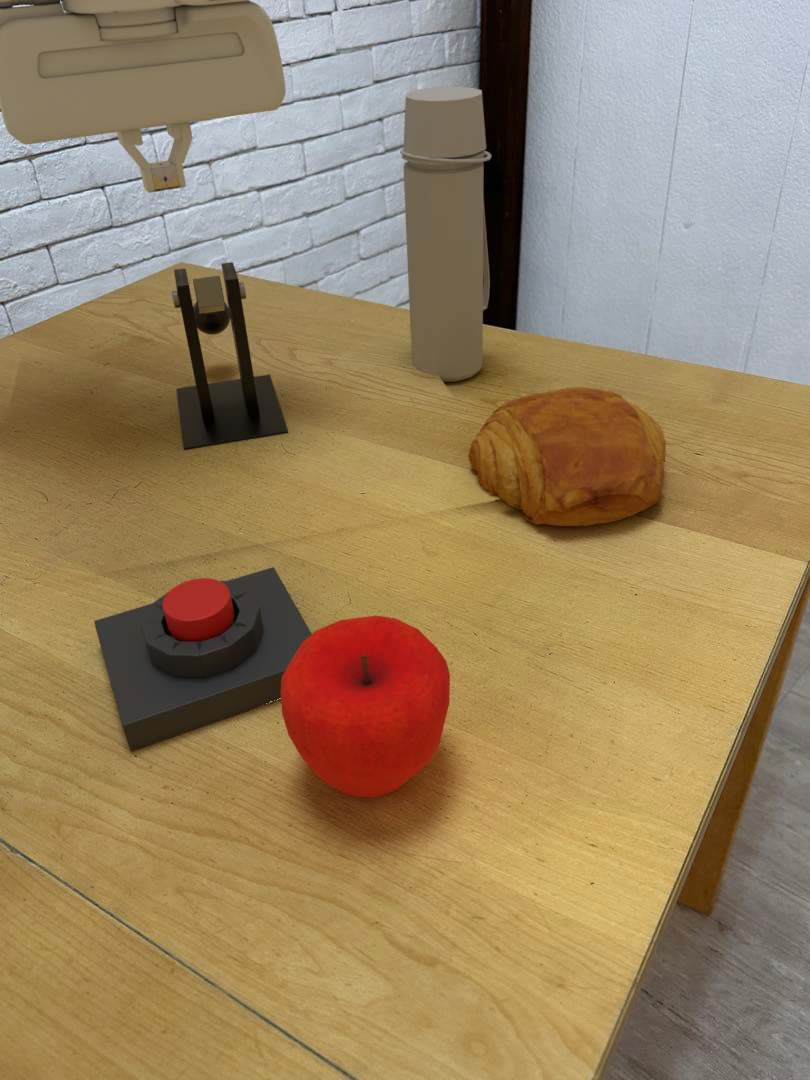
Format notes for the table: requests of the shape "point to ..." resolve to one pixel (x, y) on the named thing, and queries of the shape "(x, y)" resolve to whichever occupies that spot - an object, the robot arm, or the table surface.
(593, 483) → the croissant
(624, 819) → the table surface
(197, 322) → the lever
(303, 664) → the apple
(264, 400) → the bracket
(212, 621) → the button
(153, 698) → the button box
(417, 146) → the water bottle
